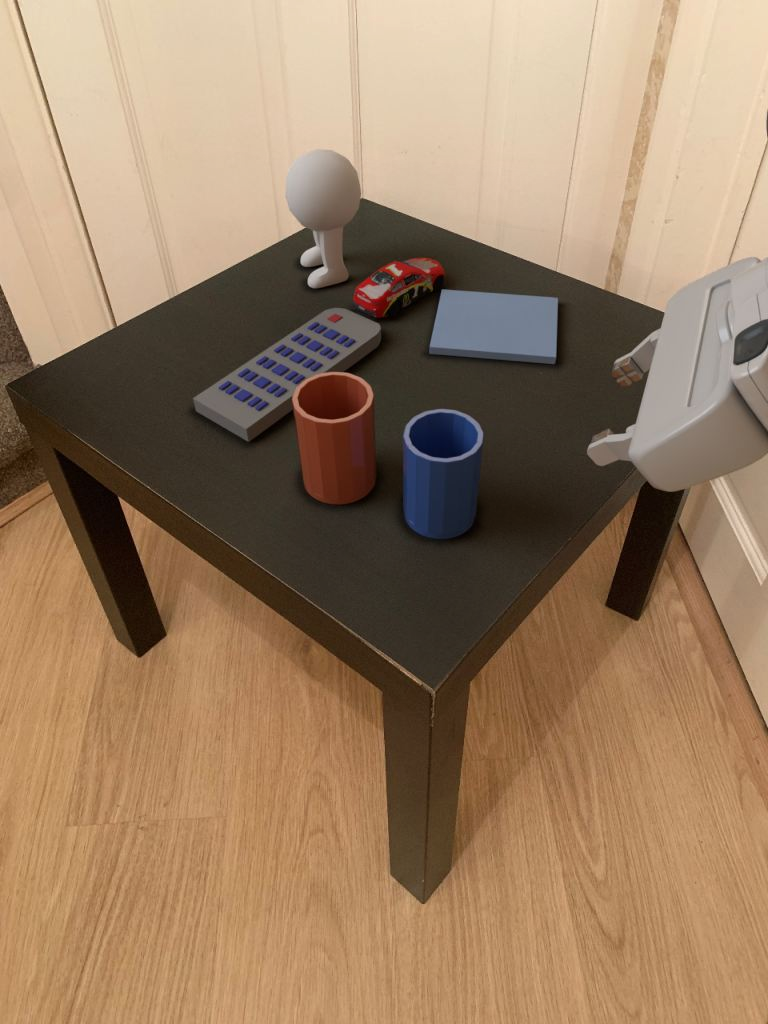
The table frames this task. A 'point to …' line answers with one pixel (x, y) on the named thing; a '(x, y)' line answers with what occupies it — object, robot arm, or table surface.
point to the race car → (398, 286)
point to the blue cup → (441, 472)
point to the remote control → (287, 371)
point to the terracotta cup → (336, 436)
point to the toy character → (323, 209)
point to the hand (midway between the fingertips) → (605, 412)
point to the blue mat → (496, 326)
